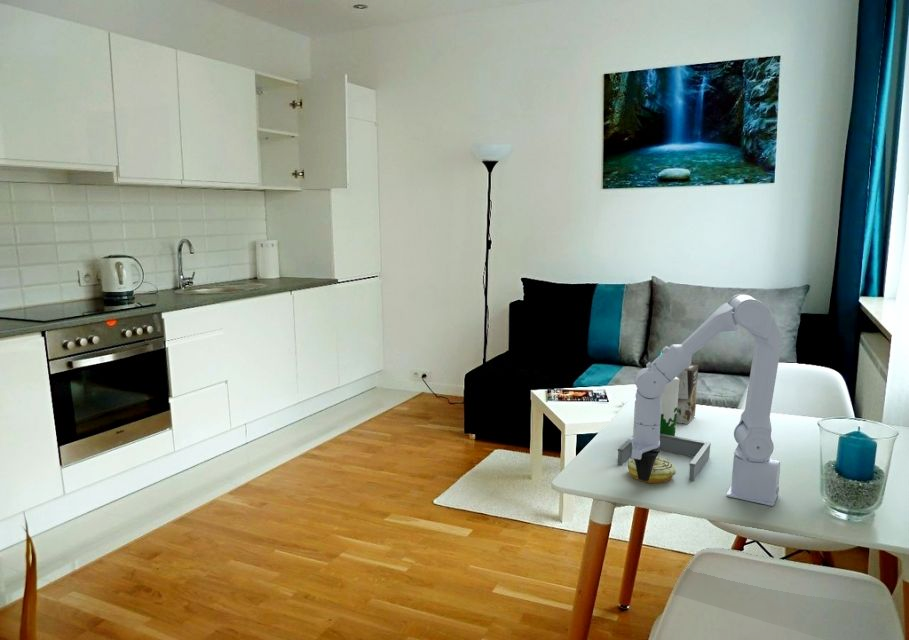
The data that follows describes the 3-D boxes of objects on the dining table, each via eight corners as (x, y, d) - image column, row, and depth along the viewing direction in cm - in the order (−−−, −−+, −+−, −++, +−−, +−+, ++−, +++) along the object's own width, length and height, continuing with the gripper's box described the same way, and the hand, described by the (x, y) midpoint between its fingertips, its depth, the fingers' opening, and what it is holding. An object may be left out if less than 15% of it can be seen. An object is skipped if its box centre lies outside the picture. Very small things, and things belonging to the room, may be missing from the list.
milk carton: (636, 433, 189) (640, 363, 186) (669, 434, 189) (673, 364, 186) (644, 444, 181) (648, 371, 177) (678, 445, 180) (683, 371, 177)
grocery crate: (709, 458, 171) (710, 442, 171) (693, 481, 157) (695, 464, 156) (638, 444, 181) (639, 429, 180) (617, 464, 166) (617, 448, 166)
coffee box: (688, 425, 197) (692, 370, 195) (666, 421, 201) (669, 367, 198) (695, 416, 205) (699, 364, 202) (674, 413, 208) (677, 361, 206)
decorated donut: (683, 478, 159) (685, 463, 158) (655, 489, 152) (656, 473, 152) (647, 464, 167) (648, 449, 166) (618, 474, 161) (619, 459, 160)
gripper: (638, 410, 160) (635, 465, 162) (619, 427, 148) (616, 486, 150) (669, 415, 156) (665, 472, 159) (651, 433, 144) (647, 494, 146)
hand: (643, 479), depth 154 cm, fingers closed
